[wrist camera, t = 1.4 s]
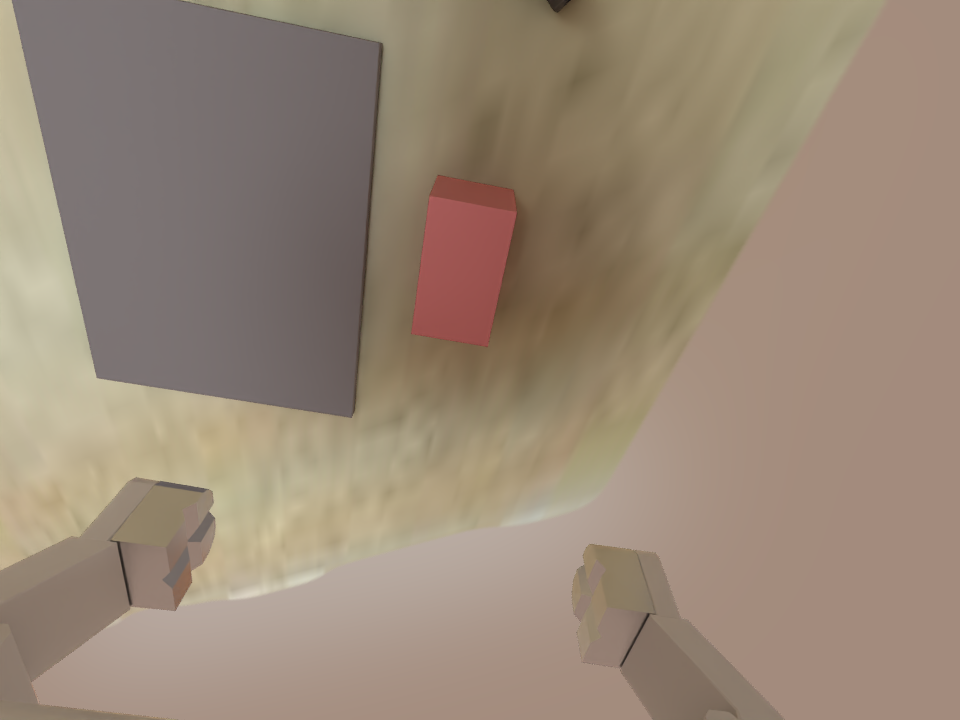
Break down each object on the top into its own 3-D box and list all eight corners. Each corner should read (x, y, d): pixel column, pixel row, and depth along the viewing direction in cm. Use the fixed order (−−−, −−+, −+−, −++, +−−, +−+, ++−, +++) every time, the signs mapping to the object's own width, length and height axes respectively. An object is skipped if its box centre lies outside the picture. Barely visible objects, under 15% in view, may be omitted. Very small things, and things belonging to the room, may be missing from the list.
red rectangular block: (437, 174, 31) (429, 195, 27) (513, 189, 31) (517, 212, 27) (420, 298, 35) (411, 333, 31) (487, 309, 35) (487, 346, 31)
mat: (16, -35, 26) (3, -37, 25) (382, 43, 27) (379, 43, 27) (103, 372, 38) (96, 378, 37) (354, 411, 40) (351, 417, 39)
